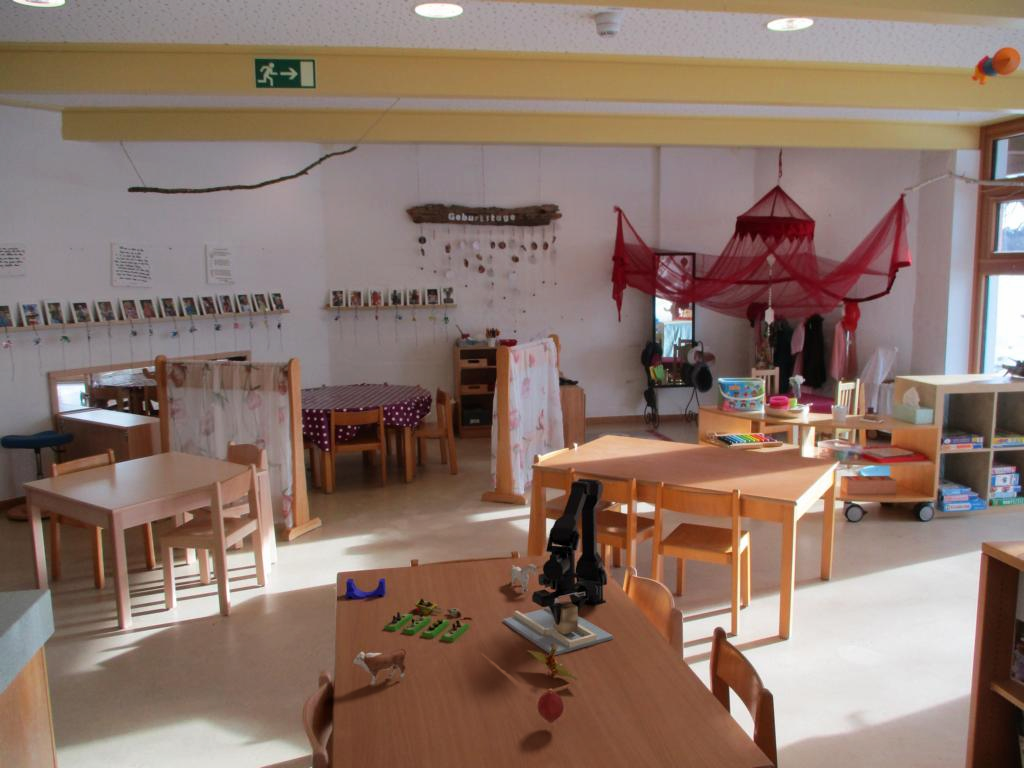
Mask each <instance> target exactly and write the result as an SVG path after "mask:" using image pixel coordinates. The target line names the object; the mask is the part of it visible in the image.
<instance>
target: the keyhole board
mask: <svg viewBox="0 0 1024 768" xmlns="http://www.w3.org/2000/svg"><path fill="white" fill-rule="evenodd" d="M502 622H503V623H504V624H506V625H507V626H508V627H510V628H511V629H512V630H514V631H515V632H517V633H518V634H519V635H521V636H522V637H525V639H527V640H529V641H530V642H531V643H533V644H534V645H536V646H537V647H539V648H540V649H543V650H544V651H545V652H546V653H548V655H549V654H550V651H551V649H552V648H551V644H552V643H554V644H556V646H558V647H557V651H556V653H555V655H554V657H555V656H558V655H562V654H566V653H568V652H569V653H570V652H572V651H575V650H580V649H582V648H585V647H590V646H593V645H597V644H600V643H603V642H607V641H611V640H613V639H614V635H612V634H611V633H609V632H608V631H605V630H604V629H602V628H600V627H598V626H596V625H595V624H593V623H592V622H590V621H588V620H587V619H584V618H582V617H581V616H579V615H578V631H574V632H571V633H567V634H561V633H560V632H558V631H557V630H555V629H553V615H552V612H551V610H550V608H549V606H547V607H545V608H542V609H538V610H535V611H531V612H530V611H529V612H526V613H525V612H524V613H523V612H520V611H519V610H515V611H514V616H509V617H507V618H506V617H505V618H503V619H502Z"/></svg>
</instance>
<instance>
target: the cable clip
mask: <svg viewBox="0 0 1024 768" xmlns="http://www.w3.org/2000/svg"><path fill="white" fill-rule="evenodd" d="M345 584H346V591H345V599H346V600H348V599H349V598H352V600H365V599H366V598H378V597H379V596H381V597H382V598H384V597H385V596H386V593H387V592H386V591H387V590H386V578H380V579H379V580H378V585H377V587H376V588H375V589H373V590H371V591H363V590H361V589H359V587H357V586H356V584H355V582H354V578H348V579H347V580H346V583H345Z"/></svg>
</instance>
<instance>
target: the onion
mask: <svg viewBox="0 0 1024 768" xmlns="http://www.w3.org/2000/svg"><path fill="white" fill-rule="evenodd" d="M537 711H538V714H539V715H540V717H542V719H544V720H545V721H546V722H547V723H549V724H552V723H554V722H555V721H557V720H558V719H560V718H561V716H562V714H563V712H564V702H563V699H562V698H561V696H560V695H559V694H558V693H557V692H555V691H554V689H552V688H549V689H548V690H547V691H545V692H544V693H542V695H541V696H540V697H539V700H538V702H537Z"/></svg>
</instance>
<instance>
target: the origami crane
mask: <svg viewBox="0 0 1024 768" xmlns="http://www.w3.org/2000/svg"><path fill="white" fill-rule="evenodd" d="M557 647H558V646H556V644H554V643H552V644H551V648H552V649H551V651H550V654H549V653H548V655H547V656H546V655H545V654H544V653H543V652H541V651H537V650H536V651H535V650H531V649H530V650H529V649H526V651H527V652H528V653H529V654H531V655H533V657H534V658H535V659H536V660H538V661H539V662H541V663H542V664H543V665H544V666H545V667H546V668H547V670H549V671H548V673H547V676H548V677H552V675H553V676H559V677H565V678H570V679H573V680H575V681H577V682H578V681H580V679H579V678H578V677H576V676H575V675H573V674H572V673H571V672H569V671H568V670H567V669H566V668H565V667H564V666H563V663H559V664H558V661H557V660H556V658H555V656H556V655H555V653H556V651H557ZM554 655H555V656H554ZM550 671H551V673H550Z"/></svg>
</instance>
